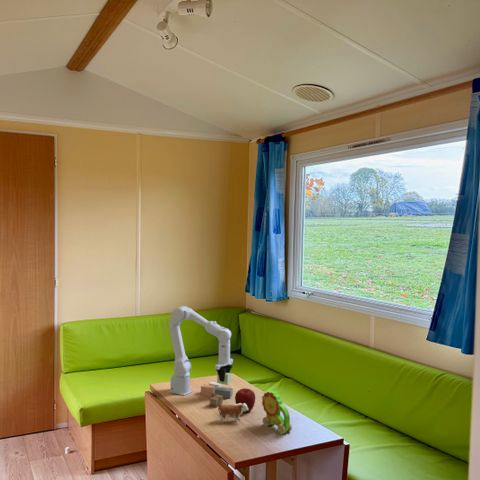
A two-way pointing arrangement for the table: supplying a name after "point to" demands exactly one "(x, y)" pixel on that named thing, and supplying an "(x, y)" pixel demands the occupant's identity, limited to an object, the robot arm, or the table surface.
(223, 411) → the bull figurine
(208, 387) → the terracotta brick
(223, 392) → the charcoal brick
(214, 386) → the pale grey brick
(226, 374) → the sage brick
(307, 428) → the table surface
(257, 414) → the table surface
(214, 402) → the walnut brick
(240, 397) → the apple
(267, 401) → the toy lion
